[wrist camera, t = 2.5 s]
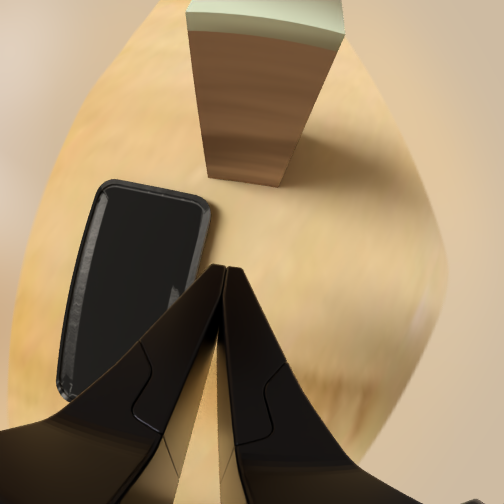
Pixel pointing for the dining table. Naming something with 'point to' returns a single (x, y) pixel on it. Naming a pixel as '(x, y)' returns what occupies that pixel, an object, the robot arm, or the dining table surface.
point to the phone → (127, 275)
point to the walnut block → (258, 79)
